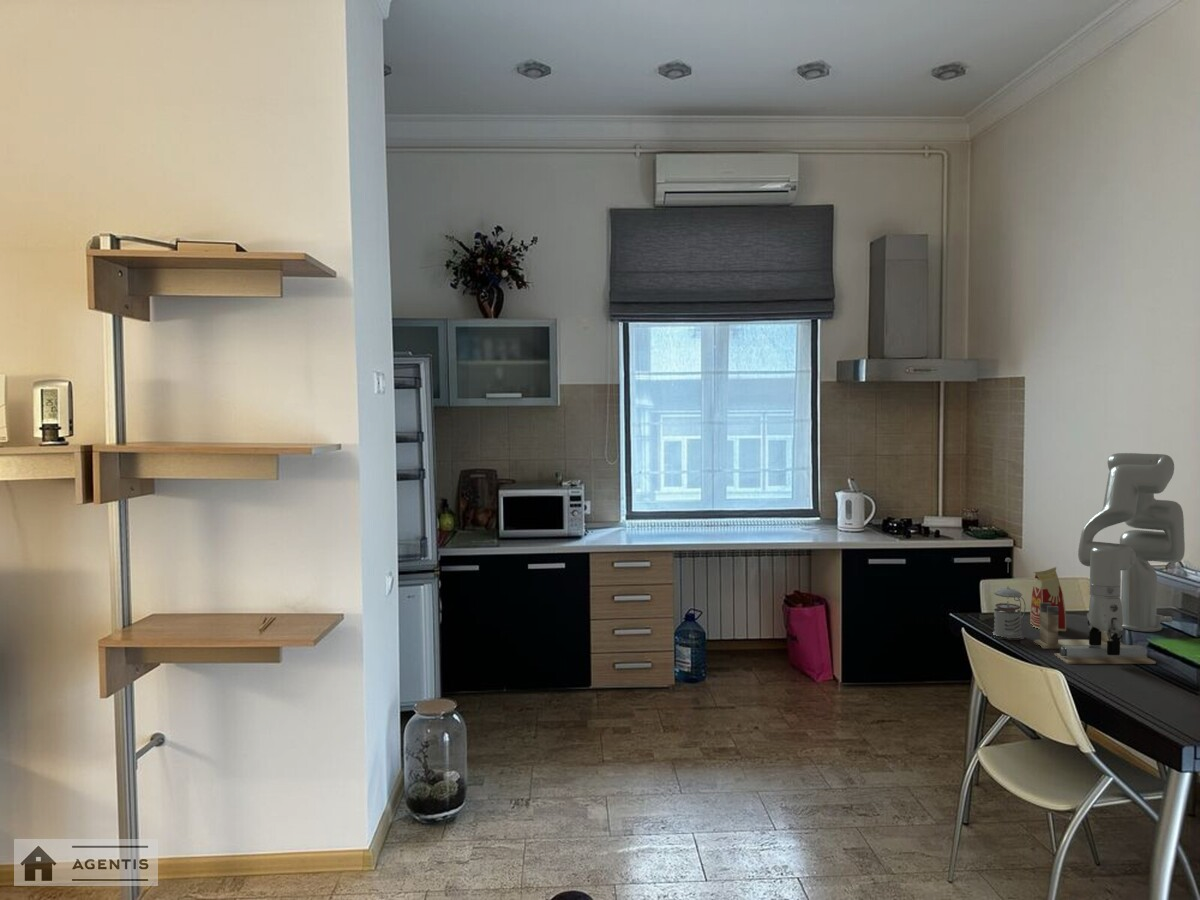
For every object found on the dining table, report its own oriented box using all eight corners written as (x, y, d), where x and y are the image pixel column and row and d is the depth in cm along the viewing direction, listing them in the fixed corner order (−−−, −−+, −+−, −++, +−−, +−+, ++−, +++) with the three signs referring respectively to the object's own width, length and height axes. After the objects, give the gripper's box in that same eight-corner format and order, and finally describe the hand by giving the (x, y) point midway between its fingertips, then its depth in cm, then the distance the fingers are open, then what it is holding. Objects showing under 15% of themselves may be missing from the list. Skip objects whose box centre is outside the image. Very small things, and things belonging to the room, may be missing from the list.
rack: (1114, 642, 260) (1115, 602, 259) (1125, 648, 254) (1126, 606, 253) (1034, 642, 261) (1034, 602, 261) (1043, 648, 255) (1043, 607, 255)
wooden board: (1139, 655, 247) (1139, 653, 247) (1155, 663, 239) (1155, 661, 239) (1054, 655, 248) (1054, 653, 248) (1067, 663, 240) (1067, 661, 240)
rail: (1143, 655, 245) (1143, 645, 245) (1149, 658, 242) (1149, 648, 242) (1058, 655, 246) (1058, 645, 246) (1063, 658, 243) (1064, 648, 243)
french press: (983, 634, 272) (983, 556, 270) (1010, 629, 276) (1010, 553, 275) (1009, 642, 263) (1009, 561, 261) (1036, 637, 267) (1037, 558, 266)
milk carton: (1055, 624, 283) (1056, 564, 282) (1067, 631, 274) (1068, 569, 273) (1026, 623, 284) (1027, 564, 283) (1038, 631, 274) (1038, 569, 273)
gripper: (1135, 597, 234) (1134, 658, 235) (1102, 584, 251) (1101, 641, 252) (1107, 597, 234) (1106, 658, 235) (1076, 584, 251) (1075, 641, 252)
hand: (1104, 649), depth 244 cm, fingers open, 9 cm apart
